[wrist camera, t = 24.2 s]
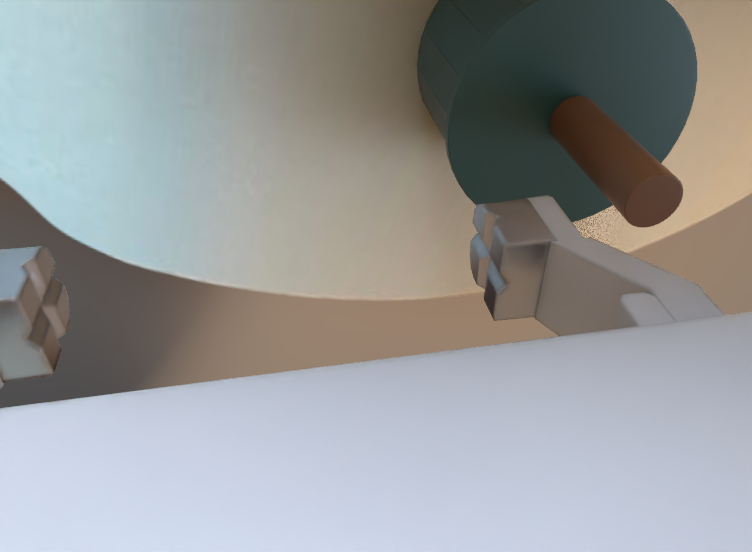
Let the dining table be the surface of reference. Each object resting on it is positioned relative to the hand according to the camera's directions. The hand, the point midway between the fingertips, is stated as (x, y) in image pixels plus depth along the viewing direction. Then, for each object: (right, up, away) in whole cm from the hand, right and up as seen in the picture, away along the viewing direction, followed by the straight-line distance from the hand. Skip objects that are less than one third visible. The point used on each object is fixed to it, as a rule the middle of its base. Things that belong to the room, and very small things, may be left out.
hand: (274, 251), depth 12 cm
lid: (+13, +9, +24) cm, 29 cm away
